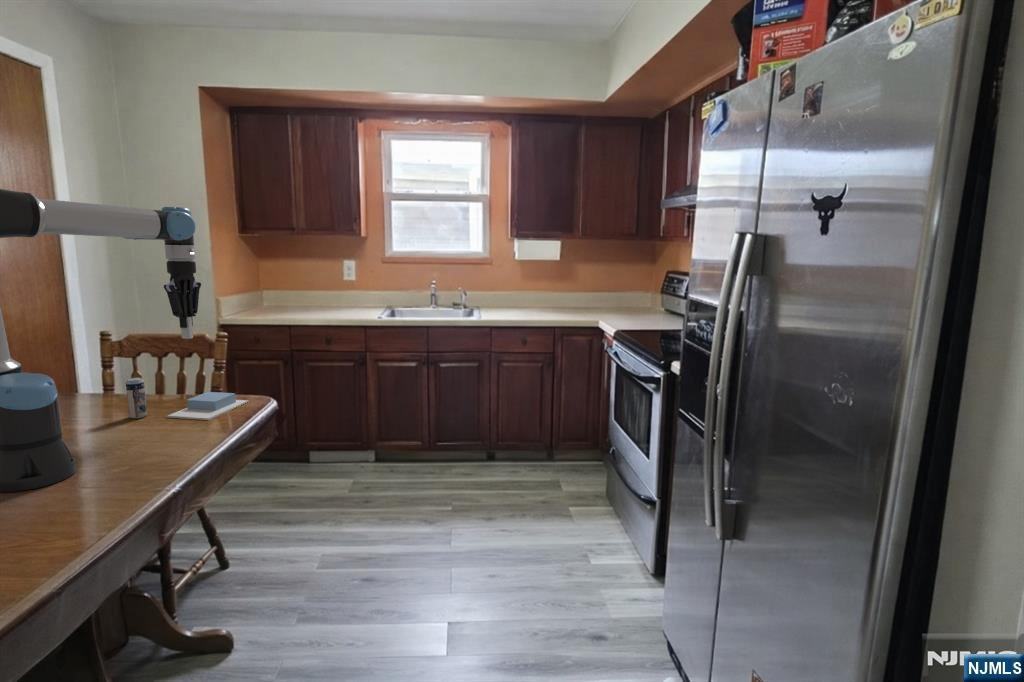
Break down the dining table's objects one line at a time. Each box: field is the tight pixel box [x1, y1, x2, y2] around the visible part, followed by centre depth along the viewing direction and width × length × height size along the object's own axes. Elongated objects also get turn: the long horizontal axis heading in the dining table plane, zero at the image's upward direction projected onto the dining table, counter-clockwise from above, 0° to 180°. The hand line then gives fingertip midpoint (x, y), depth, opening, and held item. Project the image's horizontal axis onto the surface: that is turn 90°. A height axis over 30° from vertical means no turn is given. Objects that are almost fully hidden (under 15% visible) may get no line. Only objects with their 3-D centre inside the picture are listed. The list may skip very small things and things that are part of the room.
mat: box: [166, 399, 250, 421], centre depth 178 cm, size 20×14×1 cm
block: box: [186, 391, 237, 411], centre depth 181 cm, size 3×10×10 cm
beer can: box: [125, 377, 148, 420], centre depth 169 cm, size 5×5×12 cm
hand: (187, 338), depth 168 cm, fingers closed
